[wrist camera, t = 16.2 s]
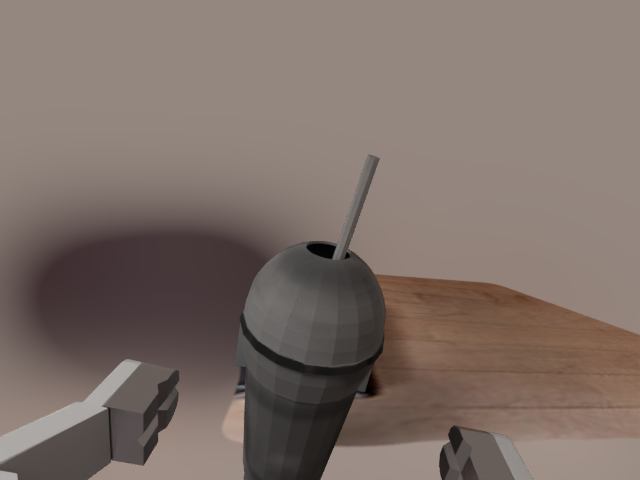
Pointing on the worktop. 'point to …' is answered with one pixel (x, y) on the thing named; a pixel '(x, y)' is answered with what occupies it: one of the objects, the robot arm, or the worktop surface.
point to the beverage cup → (308, 350)
